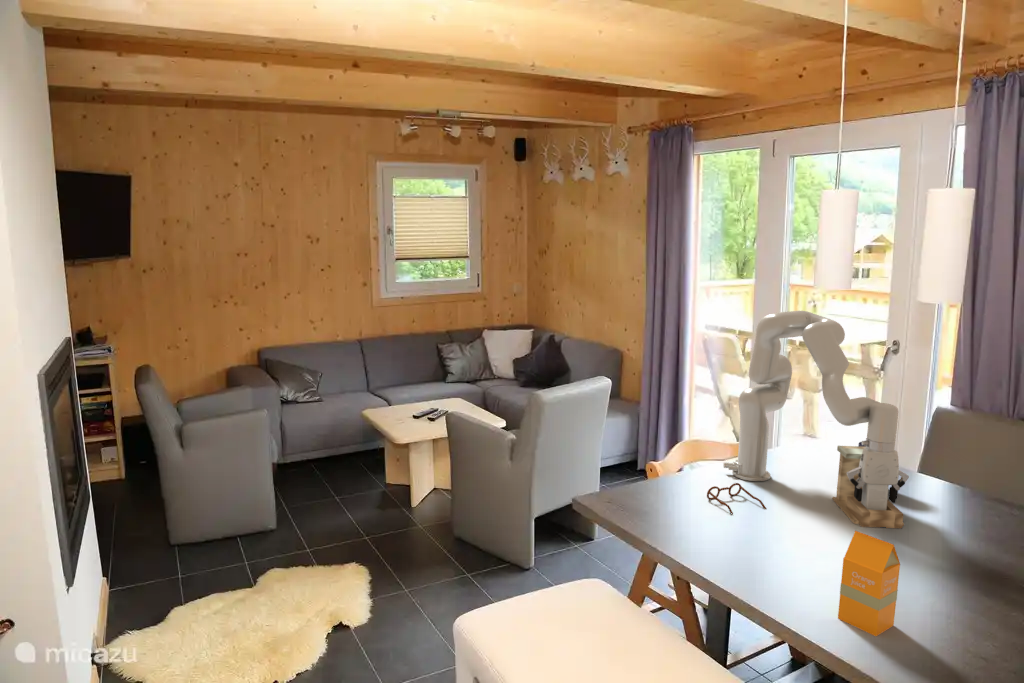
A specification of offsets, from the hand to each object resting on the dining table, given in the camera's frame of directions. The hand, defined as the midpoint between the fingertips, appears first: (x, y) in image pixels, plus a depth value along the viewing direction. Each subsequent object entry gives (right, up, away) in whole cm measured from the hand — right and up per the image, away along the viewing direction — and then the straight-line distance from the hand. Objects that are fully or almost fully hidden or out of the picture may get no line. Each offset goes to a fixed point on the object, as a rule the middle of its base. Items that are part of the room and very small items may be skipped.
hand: (875, 500), depth 216 cm
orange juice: (-29, -15, -55) cm, 64 cm away
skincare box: (0, -5, +1) cm, 5 cm away
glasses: (-38, -4, +11) cm, 40 cm away
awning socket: (0, -5, +5) cm, 7 cm away
